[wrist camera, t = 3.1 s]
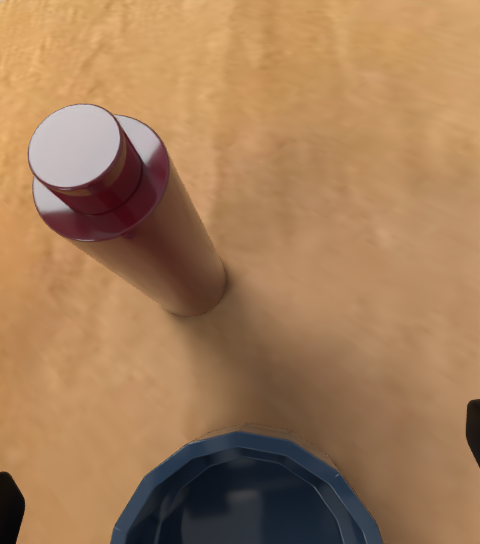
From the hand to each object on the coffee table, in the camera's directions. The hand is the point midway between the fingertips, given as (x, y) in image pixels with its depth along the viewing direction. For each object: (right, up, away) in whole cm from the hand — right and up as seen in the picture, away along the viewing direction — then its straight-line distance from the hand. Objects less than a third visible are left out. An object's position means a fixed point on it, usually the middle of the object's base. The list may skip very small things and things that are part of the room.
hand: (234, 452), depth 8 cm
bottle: (-3, +3, +15) cm, 16 cm away
